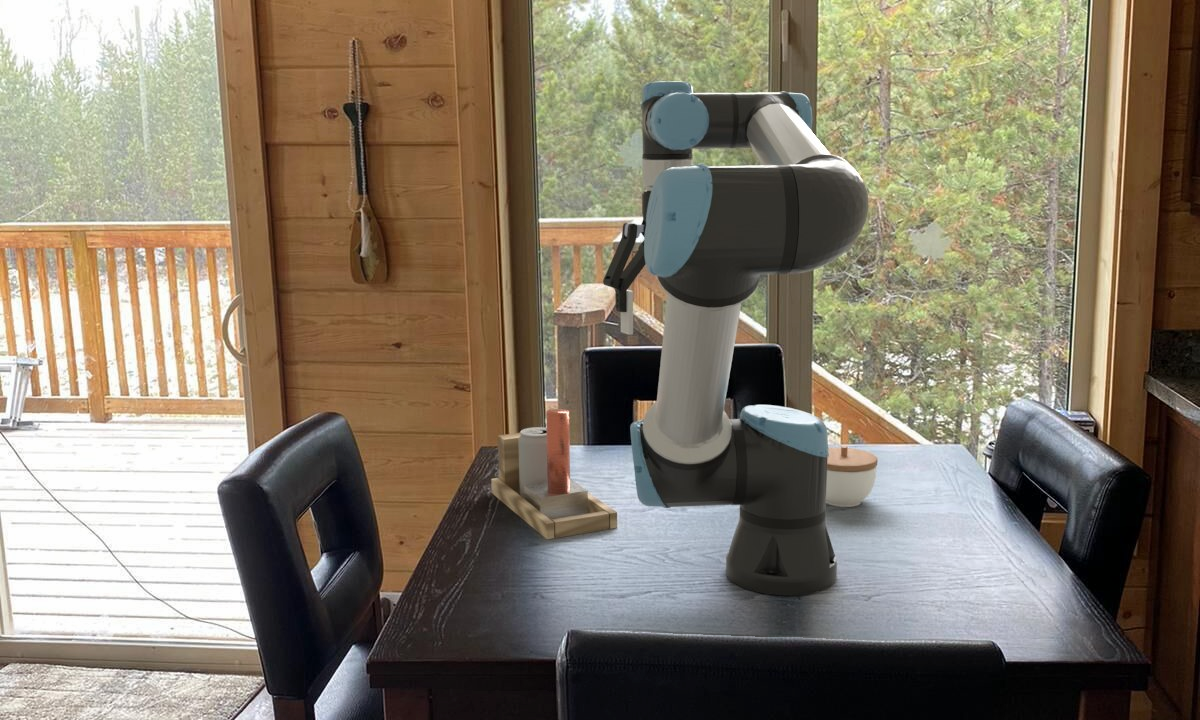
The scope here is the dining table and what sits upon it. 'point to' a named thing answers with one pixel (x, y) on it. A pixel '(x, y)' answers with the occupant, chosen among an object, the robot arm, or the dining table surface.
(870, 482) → the lidded jar
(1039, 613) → the dining table surface
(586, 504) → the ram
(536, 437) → the beverage can
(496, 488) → the press frame
